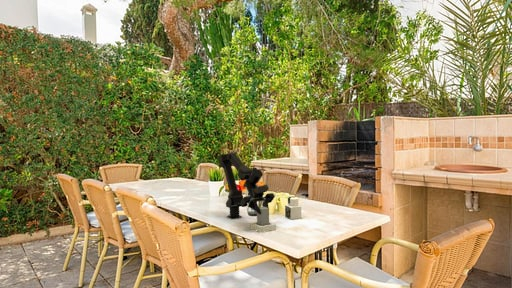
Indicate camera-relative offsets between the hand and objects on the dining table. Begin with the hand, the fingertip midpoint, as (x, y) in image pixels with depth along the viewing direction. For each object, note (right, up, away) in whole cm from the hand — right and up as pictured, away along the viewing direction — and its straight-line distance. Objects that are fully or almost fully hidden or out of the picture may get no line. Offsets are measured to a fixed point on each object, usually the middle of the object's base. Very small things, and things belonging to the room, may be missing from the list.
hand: (264, 213), depth 179 cm
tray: (-1, -8, +2) cm, 9 cm away
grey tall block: (-1, -7, +1) cm, 7 cm away
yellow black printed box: (+17, -7, +24) cm, 30 cm away
